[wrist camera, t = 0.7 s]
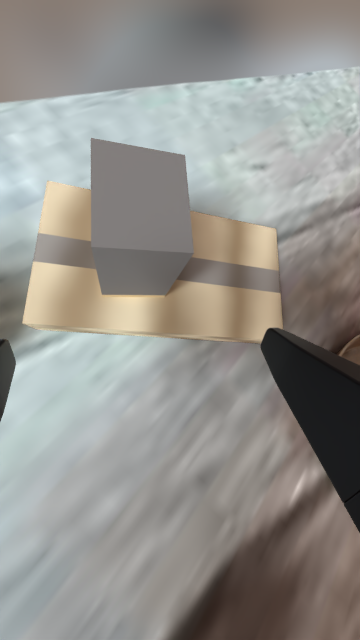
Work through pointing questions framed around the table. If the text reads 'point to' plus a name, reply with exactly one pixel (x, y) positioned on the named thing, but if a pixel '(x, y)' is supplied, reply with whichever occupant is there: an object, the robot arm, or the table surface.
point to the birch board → (154, 312)
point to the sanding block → (138, 219)
